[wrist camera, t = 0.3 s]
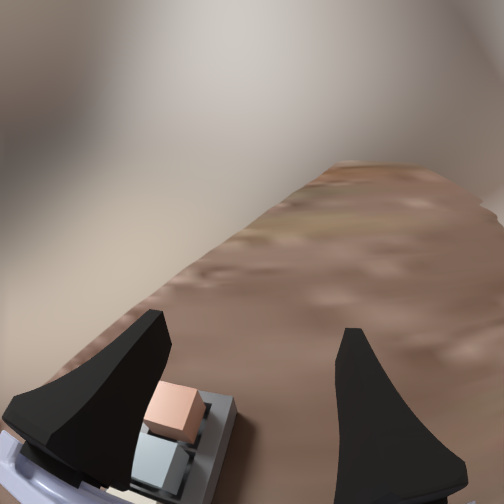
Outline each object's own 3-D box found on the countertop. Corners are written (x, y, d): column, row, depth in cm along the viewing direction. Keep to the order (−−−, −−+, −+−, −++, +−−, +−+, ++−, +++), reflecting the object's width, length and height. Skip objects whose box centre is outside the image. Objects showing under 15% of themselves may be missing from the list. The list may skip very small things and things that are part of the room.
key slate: (176, 495, 17) (161, 487, 15) (134, 479, 18) (115, 469, 16) (189, 456, 21) (177, 443, 19) (148, 443, 22) (132, 429, 19)
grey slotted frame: (191, 565, 13) (180, 568, 11) (107, 531, 15) (89, 527, 13) (237, 410, 28) (233, 396, 26) (163, 395, 30) (153, 380, 28)
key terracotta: (193, 444, 22) (182, 430, 20) (153, 432, 23) (138, 417, 21) (206, 407, 25) (197, 389, 23) (167, 398, 26) (155, 379, 24)
